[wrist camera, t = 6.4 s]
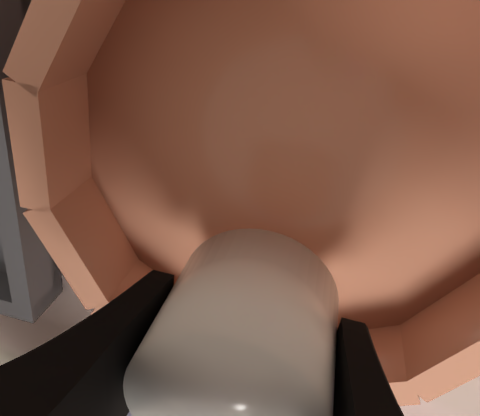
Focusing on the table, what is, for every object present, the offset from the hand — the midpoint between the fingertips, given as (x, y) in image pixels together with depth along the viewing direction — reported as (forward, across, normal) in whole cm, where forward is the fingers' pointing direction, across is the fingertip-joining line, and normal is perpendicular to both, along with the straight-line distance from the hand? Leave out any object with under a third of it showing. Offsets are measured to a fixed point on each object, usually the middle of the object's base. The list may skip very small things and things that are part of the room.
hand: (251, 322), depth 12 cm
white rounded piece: (+1, 0, 0) cm, 1 cm away
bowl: (+4, 0, -3) cm, 5 cm away
